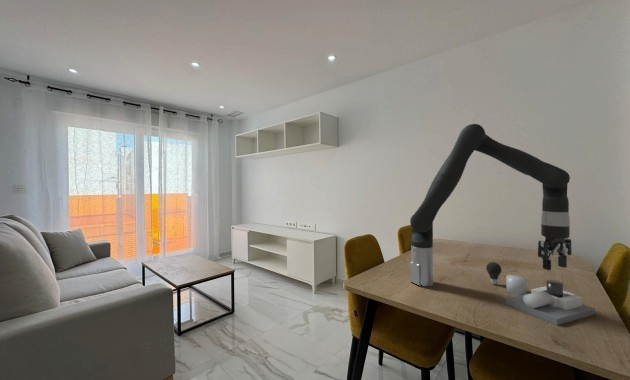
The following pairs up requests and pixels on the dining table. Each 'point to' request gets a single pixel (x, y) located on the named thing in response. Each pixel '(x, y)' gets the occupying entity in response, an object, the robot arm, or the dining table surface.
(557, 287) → the dark grey domed cylinder
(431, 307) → the dining table surface
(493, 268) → the light bulb
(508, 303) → the socket block
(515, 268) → the dining table surface
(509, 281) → the cylinder
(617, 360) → the dining table surface
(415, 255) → the robot arm
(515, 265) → the dining table surface
